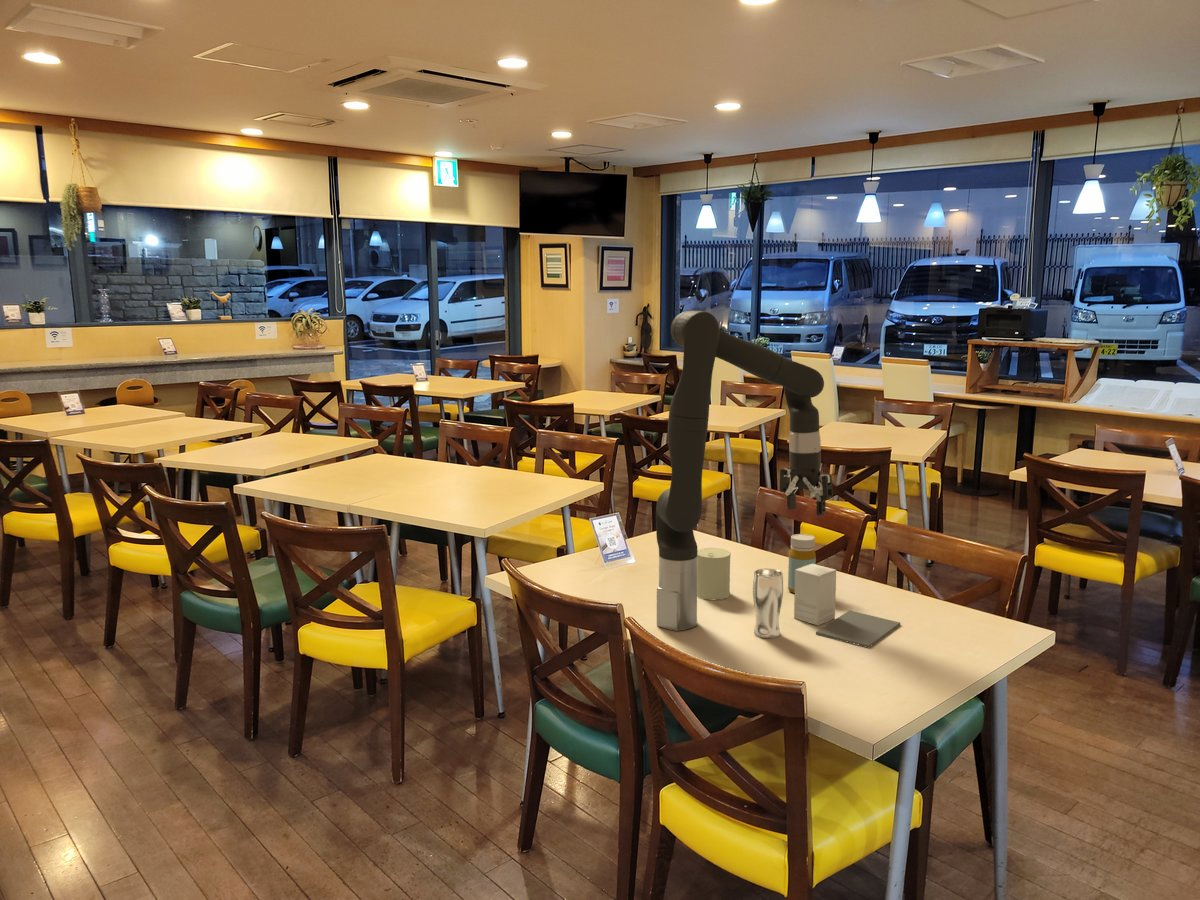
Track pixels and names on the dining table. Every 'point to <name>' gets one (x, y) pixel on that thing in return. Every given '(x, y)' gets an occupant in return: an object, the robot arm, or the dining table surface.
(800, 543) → the bottle
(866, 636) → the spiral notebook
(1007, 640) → the dining table surface
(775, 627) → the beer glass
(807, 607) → the supplement box
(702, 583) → the can
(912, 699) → the dining table surface
